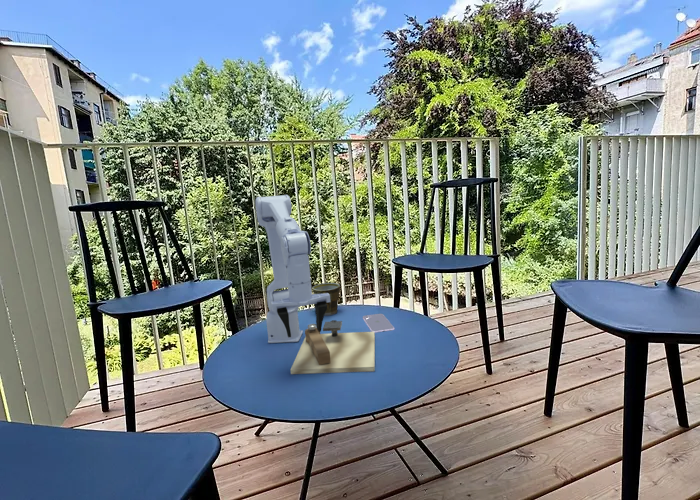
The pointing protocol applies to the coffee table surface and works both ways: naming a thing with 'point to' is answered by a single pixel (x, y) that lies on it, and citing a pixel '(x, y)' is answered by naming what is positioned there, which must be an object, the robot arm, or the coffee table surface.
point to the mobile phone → (378, 323)
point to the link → (318, 346)
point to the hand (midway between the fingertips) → (304, 333)
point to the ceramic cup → (333, 291)
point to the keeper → (329, 327)
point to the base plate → (339, 354)
